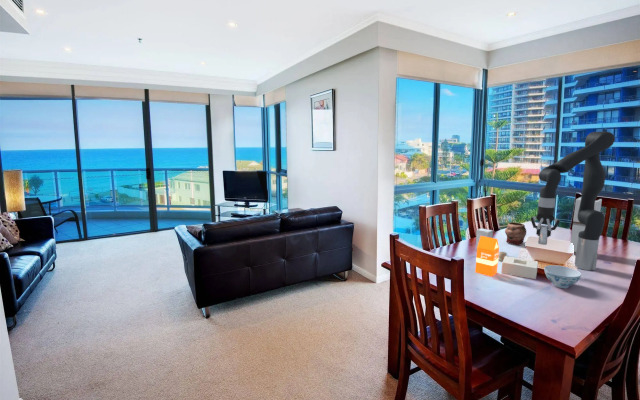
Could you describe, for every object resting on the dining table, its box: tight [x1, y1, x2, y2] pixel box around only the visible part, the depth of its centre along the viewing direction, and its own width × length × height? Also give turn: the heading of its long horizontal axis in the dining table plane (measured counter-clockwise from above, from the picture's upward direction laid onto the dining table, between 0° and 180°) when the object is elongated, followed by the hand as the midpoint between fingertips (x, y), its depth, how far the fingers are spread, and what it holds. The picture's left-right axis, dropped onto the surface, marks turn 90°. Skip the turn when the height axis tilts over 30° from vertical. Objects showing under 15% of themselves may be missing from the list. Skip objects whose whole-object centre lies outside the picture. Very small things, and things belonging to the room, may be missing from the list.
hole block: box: [500, 256, 539, 280], centre depth 187 cm, size 16×12×6 cm
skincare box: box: [475, 227, 494, 252], centre depth 219 cm, size 8×6×15 cm
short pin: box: [498, 251, 508, 263], centre depth 205 cm, size 4×4×5 cm
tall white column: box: [570, 196, 603, 256], centre depth 212 cm, size 11×11×35 cm
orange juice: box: [474, 236, 500, 278], centre depth 186 cm, size 8×9×20 cm
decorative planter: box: [504, 222, 527, 246], centre depth 238 cm, size 20×12×14 cm, turn 132°
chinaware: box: [543, 264, 582, 289], centre depth 170 cm, size 15×15×8 cm
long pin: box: [537, 224, 549, 246], centre depth 189 cm, size 4×4×10 cm
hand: (543, 236), depth 189 cm, fingers closed on long pin, 4 cm apart
